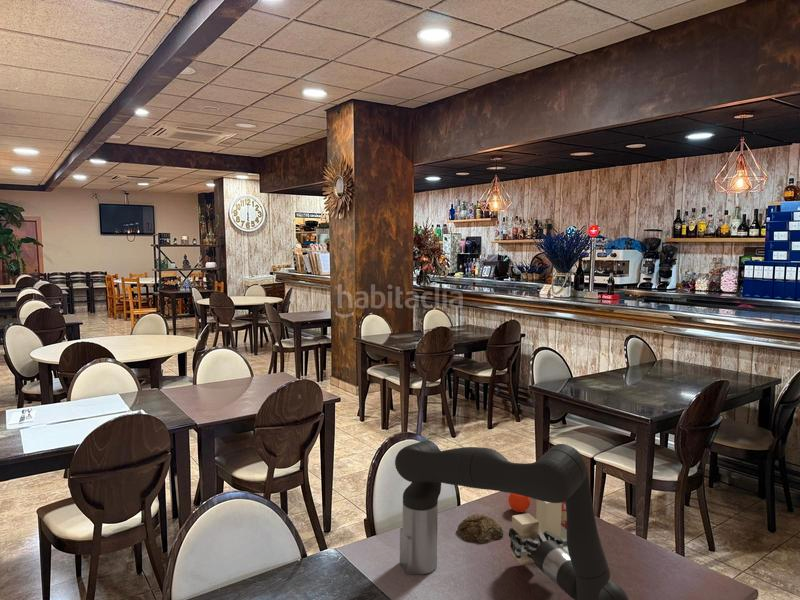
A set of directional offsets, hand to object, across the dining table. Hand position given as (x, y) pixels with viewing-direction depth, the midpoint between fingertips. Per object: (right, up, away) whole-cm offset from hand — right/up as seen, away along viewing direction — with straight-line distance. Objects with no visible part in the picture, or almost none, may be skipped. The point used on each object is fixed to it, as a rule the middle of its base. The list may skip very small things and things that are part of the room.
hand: (519, 530), depth 150 cm
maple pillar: (+1, -7, -2) cm, 7 cm away
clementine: (+7, -6, +30) cm, 31 cm away
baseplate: (+12, -8, +8) cm, 17 cm away
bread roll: (-9, -8, +16) cm, 20 cm away
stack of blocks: (+20, -7, +29) cm, 35 cm away
